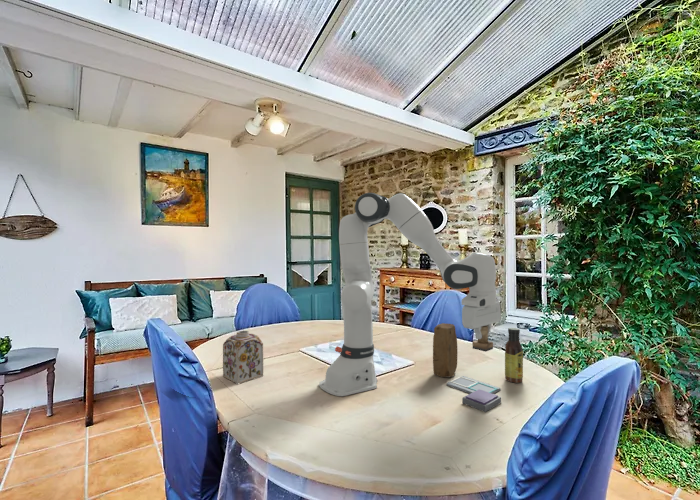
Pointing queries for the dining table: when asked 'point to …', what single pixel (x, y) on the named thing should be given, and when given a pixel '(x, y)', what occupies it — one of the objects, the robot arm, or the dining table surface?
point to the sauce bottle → (513, 357)
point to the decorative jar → (242, 357)
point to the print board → (472, 385)
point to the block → (444, 350)
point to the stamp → (483, 341)
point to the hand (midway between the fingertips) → (482, 337)
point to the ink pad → (481, 400)
